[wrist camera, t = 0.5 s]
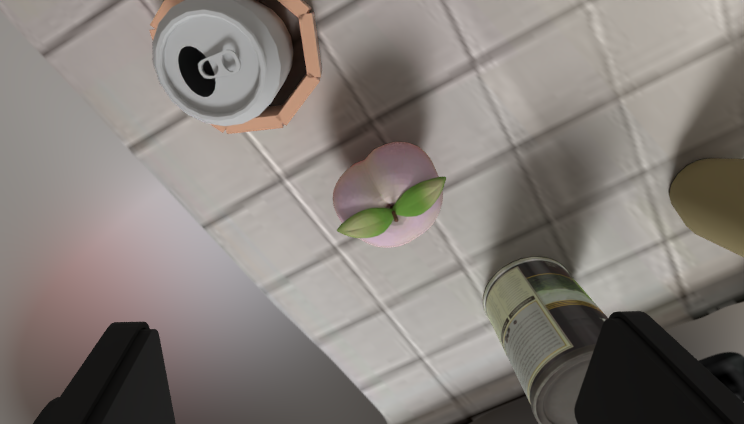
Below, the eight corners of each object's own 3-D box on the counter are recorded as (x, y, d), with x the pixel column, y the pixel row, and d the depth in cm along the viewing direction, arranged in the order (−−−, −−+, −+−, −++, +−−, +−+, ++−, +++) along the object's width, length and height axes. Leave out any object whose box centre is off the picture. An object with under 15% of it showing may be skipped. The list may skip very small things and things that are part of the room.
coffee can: (558, 240, 46) (645, 331, 33) (580, 308, 50) (663, 411, 37) (468, 279, 47) (518, 380, 34) (497, 342, 51) (551, 453, 39)
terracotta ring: (223, -69, 31) (209, -78, 28) (347, 38, 35) (348, 42, 32) (147, 59, 35) (126, 65, 31) (267, 145, 39) (261, 159, 35)
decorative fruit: (369, 232, 43) (379, 291, 34) (318, 171, 40) (314, 219, 31) (448, 179, 42) (479, 227, 33) (401, 111, 38) (421, 144, 29)
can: (183, 14, 34) (113, 19, 23) (274, -15, 33) (245, -25, 22) (224, 106, 37) (179, 148, 26) (307, 80, 37) (296, 112, 26)
